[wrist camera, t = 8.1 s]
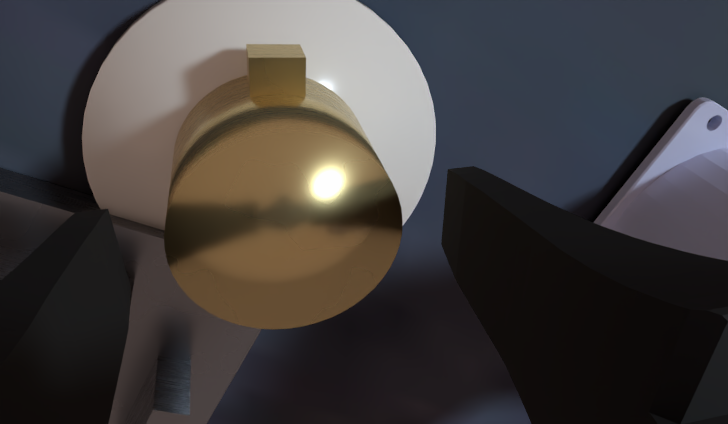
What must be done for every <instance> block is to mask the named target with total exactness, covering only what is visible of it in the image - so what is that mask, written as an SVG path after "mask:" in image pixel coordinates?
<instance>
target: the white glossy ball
mask: <svg viewBox="0 0 728 424" xmlns="http://www.w3.org/2000/svg"><path fill="white" fill-rule="evenodd" d="M246 44H300V46H301V48H302V50H303V52H304V54H305V56H306V78H309V79H312V80H314V81H316V82H318V83H320V84H322V85H324V86H326V87H327V88H329V89H330V90H332V91H333V92H335V93H336V94H337V95H338V96H339V97H340V98H341V99H343V100H344V102H345V103H346V104H347V105H348V106H349V107H350V108H351V110H352V111H353V113H354V115H355V116H356V118H357V119H358V121H359V123H360V125H361V127H362V128H363V130H364V132H365V134H366V136H367V138H368V139H369V141H370V143H371V145H372V147H373V149H374V150H375V152H376V154H377V156H378V158H379V160H380V161H381V163H382V165H383V167H384V169H385V171H386V172H387V174H388V176H389V178H390V180H391V182H392V183H393V185H394V188H395V190H396V192H397V194H398V197H399V201H400V205H401V210H402V219H403V223H402V226H403V225H404V223H405V222H406V220H407V219H408V218H409V216H410V215H411V214H412V212H413V210H414V208H415V207H416V205H417V203H418V201H419V200H420V198H421V196H422V193H423V191H424V188H425V186H426V184H427V181H428V178H429V174H430V171H431V167H432V164H433V158H434V151H435V144H436V122H435V114H434V107H433V102H432V98H431V95H430V91H429V88H428V84H427V82H426V80H425V77H424V75H423V73H422V71H421V68H420V66H419V64H418V62H417V61H416V59H415V58H414V56H413V55H412V53H411V51H410V50H409V48H408V47H407V45H406V44H405V43H404V42H403V41H402V40H401V38H400V37H399V36H398V35H397V34H396V33H395V31H394V30H393V29H392V28H391V27H390V26H389V25H388V24H387V23H386V22H385V21H383V20H382V19H381V18H380V17H379V16H378V15H377V14H375V13H374V12H373V11H372V10H371V9H370V8H369V7H367V6H366V5H364V4H362V3H361V2H359V1H358V0H161V1H160V2H158V3H156V4H155V5H153V6H152V7H151V8H150V9H148V10H147V11H146V12H145V13H143V14H142V15H141V16H140V17H139V18H137V19H136V20H135V21H134V22H133V23H132V24H131V25H130V26H129V27H128V28H127V30H126V31H125V32H124V33H123V34H122V35H121V36H120V37H119V39H118V40H117V41H116V43H115V44H114V46H113V47H112V49H111V50H110V52H109V53H108V55H107V56H106V58H105V60H104V61H103V63H102V66H101V68H100V70H99V72H98V74H97V77H96V79H95V81H94V83H93V86H92V88H91V90H90V93H89V97H88V101H87V105H86V109H85V112H84V120H83V130H82V147H83V160H84V165H85V169H86V174H87V178H88V182H89V185H90V187H91V190H92V192H93V195H94V197H95V200H96V202H97V204H98V206H99V207H100V209H108V210H109V214H111V215H114V216H117V217H121V218H124V219H128V220H131V221H134V222H138V223H141V224H144V225H148V226H151V227H154V228H158V229H161V230H165V222H166V213H167V205H168V196H169V188H170V179H171V171H172V163H173V154H174V146H175V142H176V139H177V135H178V132H179V130H180V128H181V126H182V123H183V122H184V120H185V119H186V117H187V115H188V114H189V112H190V111H191V110H192V109H193V108H194V106H195V105H196V104H197V103H198V102H199V101H200V100H201V99H202V98H203V97H205V96H206V95H207V94H208V93H210V92H211V91H213V90H214V89H216V88H217V87H219V86H220V85H222V84H224V83H226V82H228V81H231V80H233V79H236V78H239V77H242V76H245V75H247V55H246Z"/></svg>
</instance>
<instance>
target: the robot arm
mask: <svg viewBox="0 0 728 424" xmlns="http://www.w3.org/2000/svg"><path fill="white" fill-rule="evenodd" d="M711 118H712V119H711ZM710 119H711V120H710ZM709 120H710V122H709V123H708V121H709ZM441 244H442V247H443V249H444V252H445V254H446V257H447V260H448V262H449V265H450V267H451V269H452V272H453V274H454V277H455V279H456V281H457V283H458V284H459V286H460V288H461V290H462V291H463V293H464V295H465V296H466V298H467V300H468V302H469V303H470V305H471V307H472V308H473V310H474V312H475V314H476V315H477V317H478V319H479V320H480V322H481V324H482V325H483V327H484V329H485V330H486V332H487V334H488V335H489V337H490V339H491V340H492V342H493V344H494V346H495V347H496V349H497V351H498V352H499V354H500V356H501V358H502V360H503V362H504V363H505V365H506V367H507V369H508V371H509V373H510V376H511V378H512V380H513V382H514V384H515V387H516V389H517V391H518V393H519V396H520V398H521V400H522V402H523V405H524V407H525V409H526V412H527V414H528V416H529V419H530V421H531V424H728V111H727V110H726V109H725V108H723V107H722V106H720V105H719V104H717V103H716V102H714V101H712V100H710V99H708V98H705V97H702V98H698V99H696V100H694V101H692V102H691V103H690V104H689V105H688V106H687V107H686V108H685V110H684V111H683V112H682V113H681V115H680V116H679V117H678V118H677V119H676V121H675V122H674V123H673V124H672V126H671V127H670V128H669V129H668V131H667V132H666V133H665V134H664V136H663V137H662V138H661V139H660V141H659V142H658V143H657V144H656V145H655V147H654V148H653V149H652V150H651V152H650V153H649V154H648V155H647V157H646V158H645V159H644V160H643V162H642V163H641V164H640V165H639V167H638V168H637V169H636V170H635V171H634V173H633V174H632V175H631V176H630V178H629V179H628V180H627V181H626V183H625V184H624V185H623V186H622V188H621V189H620V190H619V191H618V193H617V194H616V195H615V196H614V197H613V199H612V200H611V201H610V202H609V204H608V205H607V206H606V207H605V209H604V210H603V211H602V212H601V214H600V215H599V216H598V217H597V218H596V220H595V221H594V222H590V221H588V220H585V219H583V218H581V217H579V216H576V215H574V214H572V213H569V212H567V211H565V210H563V209H560V208H558V207H556V206H554V205H552V204H550V203H548V202H546V201H544V200H542V199H540V198H538V197H536V196H534V195H532V194H530V193H528V192H526V191H524V190H522V189H520V188H518V187H516V186H514V185H512V184H510V183H508V182H506V181H504V180H502V179H500V178H498V177H496V176H494V175H492V174H490V173H488V172H486V171H484V170H482V169H479V168H477V167H474V166H472V167H464V168H455V169H448V174H447V185H446V197H445V209H444V220H443V232H442V243H441ZM130 297H131V286H130V283H129V279H128V276H127V272H126V269H125V265H124V262H123V258H122V255H121V252H120V248H119V245H118V241H117V238H116V234H115V231H114V227H113V224H112V221H111V217H110V214H109V210H108V209H101V210H92V211H83V212H76V213H74V214H73V215H72V216H71V217H70V218H68V219H67V220H66V221H65V222H64V223H63V224H62V225H61V226H60V227H59V228H58V229H56V230H55V231H54V232H53V233H52V234H51V235H50V236H49V237H48V238H47V239H46V240H45V241H44V242H43V243H42V244H41V245H40V246H39V247H37V248H36V249H35V250H34V251H33V252H32V253H31V254H30V255H29V256H28V257H27V258H26V259H25V260H23V261H22V262H21V263H20V264H19V265H18V266H17V267H16V268H15V269H14V270H13V271H11V272H10V273H9V274H8V275H7V276H5V277H4V278H3V279H2V280H1V281H0V424H109V419H110V414H111V410H112V405H113V400H114V396H115V391H116V387H117V382H118V377H119V373H120V368H121V364H122V359H123V354H124V349H125V344H126V339H127V334H128V329H129V315H130Z"/></svg>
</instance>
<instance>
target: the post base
mask: <svg viewBox="0 0 728 424" xmlns="http://www.w3.org/2000/svg"><path fill="white" fill-rule="evenodd" d="M92 210H101V209H100V207H99V206H98V204H97V202H96V200H95V197H94V196H91V195H88V194H84V193H81V192H78V191H75V190H71V189H68V188H65V187H61V186H58V185H55V184H52V183H48V182H45V181H42V180H39V179H35V178H32V177H29V176H26V175H22V174H19V173H16V172H13V171H9V170H6V169H3V168H0V281H1V280H2V279H3V278H4V277H5V276H7V275H8V274H9V273H10V272H11V271H13V270H14V269H15V268H16V267H17V266H18V265H19V264H20V263H21V262H22V261H23V260H25V259H26V258H27V257H28V256H29V255H30V254H31V253H32V252H33V251H34V250H35V249H36V248H37V247H39V246H40V245H41V244H42V243H43V242H44V241H45V240H46V239H47V238H48V237H49V236H50V235H51V234H52V233H53V232H54V231H55V230H56V229H58V228H59V227H60V226H61V225H62V224H63V223H64V222H65V221H66V220H67V219H68V218H70V217H71V216H72V215H73V214H74V213H76V212H83V211H92ZM110 217H111V221H112V224H113V227H114V231H115V234H116V238H117V241H118V245H119V248H120V252H121V255H122V258H123V262H124V265H125V269H126V272H127V276H128V279H129V283H130V286H131V297H130V315H129V329H128V334H127V339H126V344H125V349H124V354H123V359H122V364H121V368H120V373H119V377H118V382H117V387H116V391H115V396H114V400H113V405H112V410H111V414H110V419H109V424H207V422H208V420H209V419H210V417H211V415H212V413H213V412H214V410H215V408H216V407H217V405H218V403H219V401H220V400H221V398H222V396H223V395H224V393H225V391H226V389H227V388H228V386H229V384H230V383H231V381H232V379H233V377H234V376H235V374H236V372H237V371H238V369H239V367H240V365H241V364H242V362H243V360H244V359H245V357H246V355H247V353H248V352H249V350H250V348H251V347H252V345H253V343H254V342H255V340H256V338H257V336H258V335H259V333H260V331H261V330H262V329H259V328H252V327H246V326H242V325H238V324H234V323H231V322H228V321H226V320H223V319H221V318H219V317H217V316H215V315H213V314H211V313H209V312H207V311H206V310H204V309H203V308H201V307H200V306H199V305H197V304H196V303H195V302H194V301H193V300H192V299H191V298H189V297H188V296H187V294H186V293H185V292H184V291H183V290H182V289H181V287H180V286H179V285H178V283H177V281H176V280H175V278H174V276H173V275H172V272H171V270H170V267H169V265H168V262H167V258H166V253H165V247H164V231H165V230H161V229H158V228H154V227H151V226H148V225H144V224H141V223H138V222H134V221H131V220H128V219H124V218H121V217H117V216H114V215H111V214H110Z"/></svg>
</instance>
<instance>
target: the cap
mask: <svg viewBox="0 0 728 424" xmlns="http://www.w3.org/2000/svg"><path fill="white" fill-rule="evenodd" d="M246 55H247V75H245V76H242V77H239V78H236V79H233V80H231V81H228V82H226V83H224V84H222V85H220V86H219V87H217V88H216V89H214V90H213V91H211V92H210V93H208V94H207V95H206V96H205V97H203V98H202V99H201V100H200V101H199V102H198V103H197V104H196V105H195V106H194V108H193V109H192V110H191V111H190V112H189V114H188V115H187V117H186V119H185V120H184V122H183V123H182V126H181V128H180V130H179V132H178V135H177V139H176V142H175V146H174V154H173V163H172V171H171V179H170V188H169V196H168V205H167V213H166V222H165V231H164V247H165V253H166V258H167V262H168V265H169V267H170V270H171V272H172V275H173V276H174V278H175V280H176V281H177V283H178V285H179V286H180V287H181V289H182V290H183V291H184V292H185V293H186V294H187V296H188V297H189V298H191V299H192V300H193V301H194V302H195V303H196V304H197V305H199V306H200V307H201V308H203V309H204V310H206V311H207V312H209V313H211V314H213V315H215V316H217V317H219V318H221V319H223V320H226V321H228V322H231V323H234V324H238V325H242V326H246V327H252V328H259V329H289V328H296V327H302V326H306V325H310V324H314V323H318V322H320V321H323V320H326V319H329V318H331V317H333V316H335V315H337V314H340V313H342V312H343V311H345V310H347V309H348V308H350V307H352V306H353V305H355V304H356V303H358V302H359V301H360V300H362V299H363V298H364V297H365V296H366V295H367V294H369V293H370V292H371V291H372V290H373V289H374V288H375V287H376V286H377V284H378V283H379V282H380V281H381V280H382V279H383V277H384V276H385V274H386V273H387V271H388V270H389V268H390V266H391V265H392V263H393V261H394V259H395V257H396V254H397V251H398V248H399V245H400V240H401V235H402V223H403V219H402V210H401V205H400V201H399V197H398V194H397V192H396V190H395V188H394V185H393V183H392V182H391V180H390V178H389V176H388V174H387V172H386V171H385V169H384V167H383V165H382V163H381V161H380V160H379V158H378V156H377V154H376V152H375V150H374V149H373V147H372V145H371V143H370V141H369V139H368V138H367V136H366V134H365V132H364V130H363V128H362V127H361V125H360V123H359V121H358V119H357V118H356V116H355V115H354V113H353V111H352V110H351V108H350V107H349V106H348V105H347V104H346V103H345V102H344V100H343V99H341V98H340V97H339V96H338V95H337V94H336V93H335V92H333V91H332V90H330V89H329V88H327V87H326V86H324V85H322V84H320V83H318V82H316V81H314V80H312V79H309V78H306V56H305V54H304V52H303V50H302V48H301V46H300V44H246Z"/></svg>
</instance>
